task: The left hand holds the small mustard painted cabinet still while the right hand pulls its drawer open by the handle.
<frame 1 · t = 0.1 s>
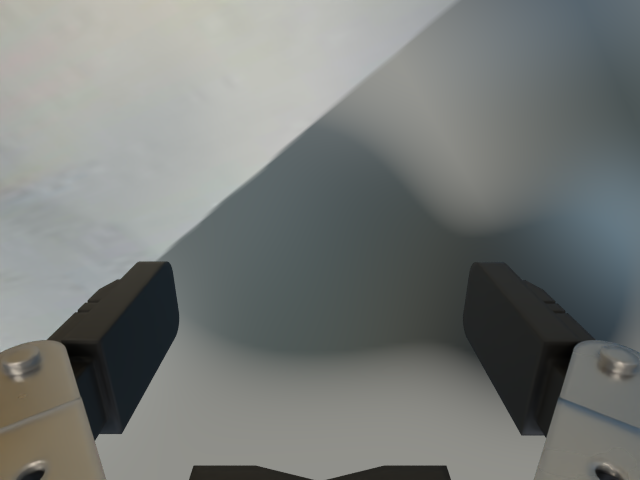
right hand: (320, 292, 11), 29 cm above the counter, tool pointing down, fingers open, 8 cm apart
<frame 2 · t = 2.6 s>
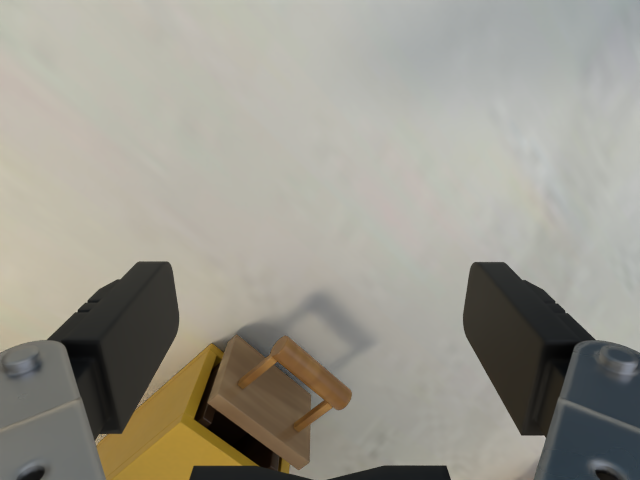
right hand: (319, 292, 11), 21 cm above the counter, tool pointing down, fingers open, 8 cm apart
drawer: (227, 428, 34), point 5 cm above the counter, slide at 1.7 cm
cabinet: (194, 425, 40), on the counter
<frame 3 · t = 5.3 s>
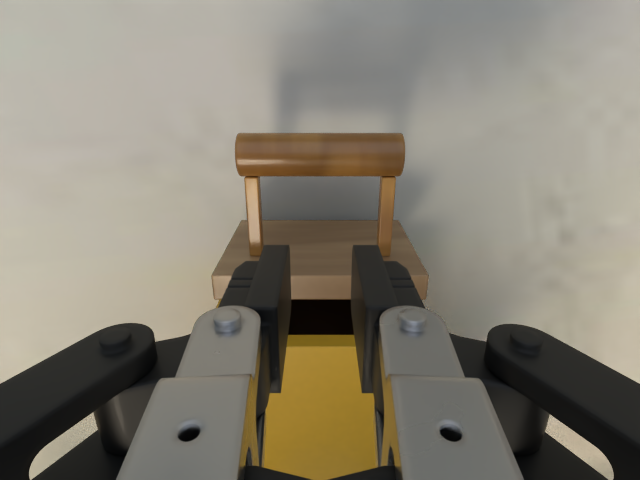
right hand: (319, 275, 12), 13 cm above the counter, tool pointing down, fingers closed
drawer: (320, 331, 22), point 5 cm above the counter, slide at 1.7 cm
cabinet: (319, 369, 29), on the counter, touching left hand
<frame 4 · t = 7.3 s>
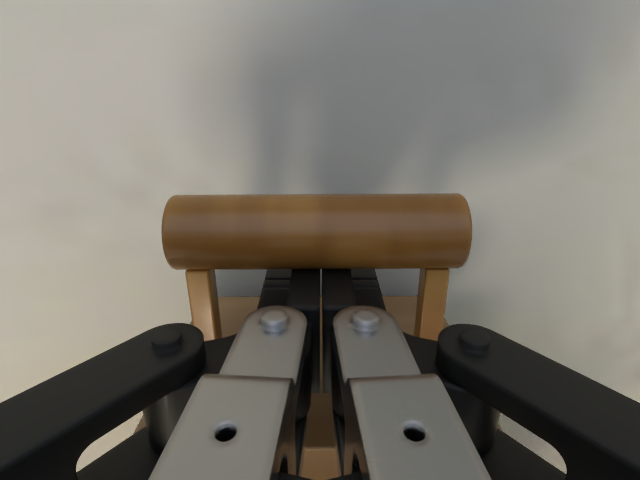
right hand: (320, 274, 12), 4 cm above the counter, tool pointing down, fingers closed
drawer: (319, 470, 15), point 5 cm above the counter, slide at 1.7 cm, touching right hand
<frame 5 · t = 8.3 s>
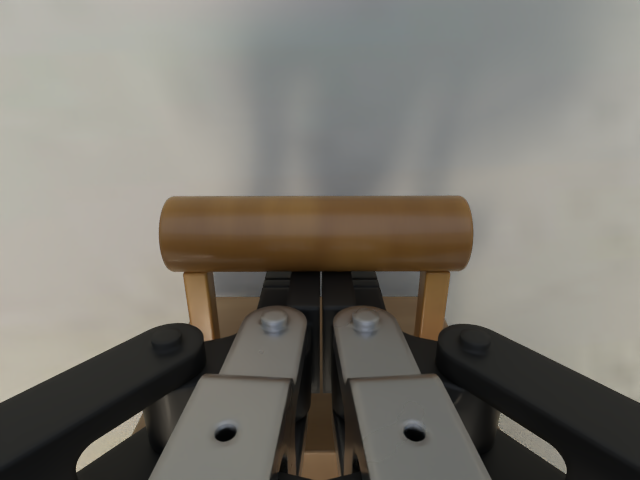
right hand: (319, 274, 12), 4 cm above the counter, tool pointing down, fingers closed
drawer: (318, 471, 15), point 5 cm above the counter, slide at 6.9 cm, touching right hand
when the left hand's fingers open (4 cm above the counter, at t = 10.3 s): cabinet stays where it is, on the counter.
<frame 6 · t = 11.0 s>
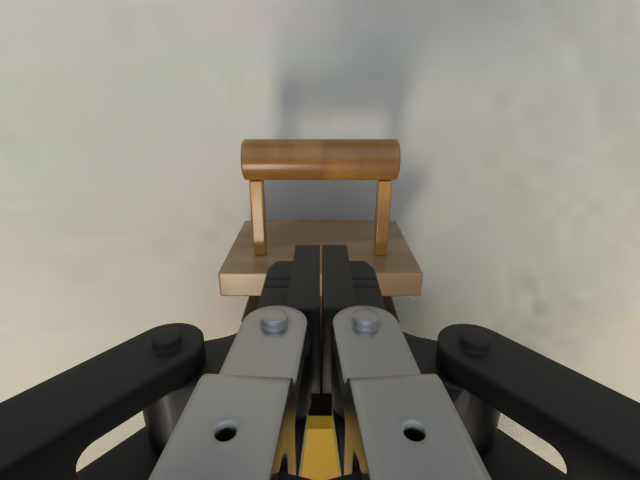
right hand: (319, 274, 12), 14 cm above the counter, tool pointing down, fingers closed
drawer: (320, 327, 23), point 4 cm above the counter, slide at 7.0 cm
cabinet: (320, 419, 32), on the counter
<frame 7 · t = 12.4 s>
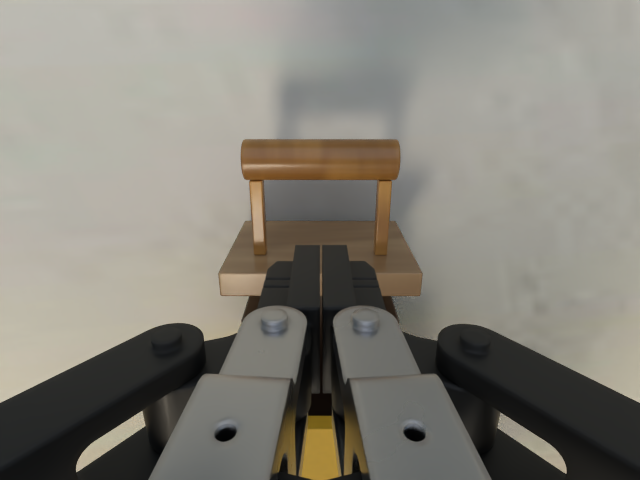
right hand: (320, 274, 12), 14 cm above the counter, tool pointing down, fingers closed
drawer: (320, 327, 23), point 4 cm above the counter, slide at 7.0 cm
cabinet: (320, 419, 32), on the counter
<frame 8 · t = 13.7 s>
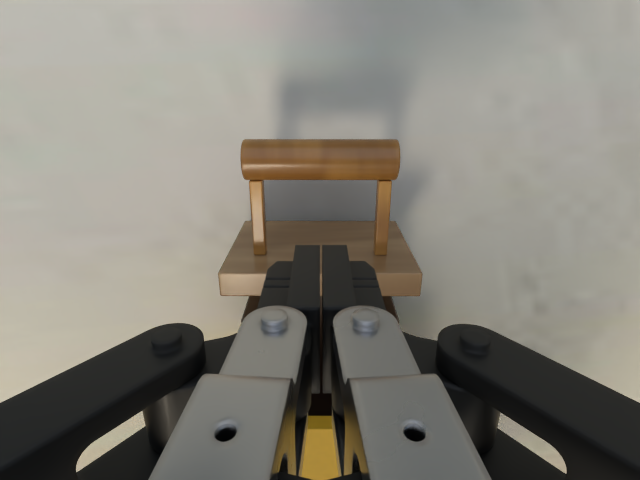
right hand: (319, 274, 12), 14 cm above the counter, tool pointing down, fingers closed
drawer: (320, 327, 23), point 5 cm above the counter, slide at 7.0 cm
cabinet: (320, 419, 32), on the counter
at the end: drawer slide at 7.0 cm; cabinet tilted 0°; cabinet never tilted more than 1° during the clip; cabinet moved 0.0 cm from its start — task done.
